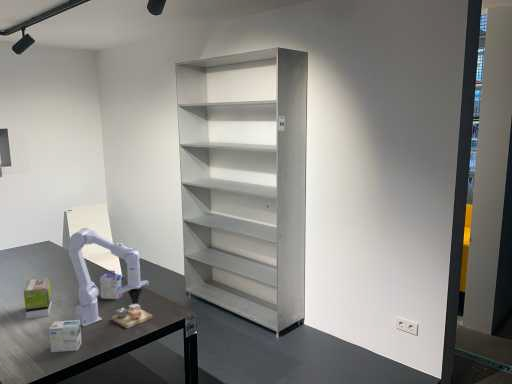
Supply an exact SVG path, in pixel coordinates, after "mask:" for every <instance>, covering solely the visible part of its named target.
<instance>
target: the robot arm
mask: <svg viewBox="0 0 512 384" xmlns="http://www.w3.org/2000/svg"><path fill="white" fill-rule="evenodd" d="M68 240H69V243H68V248H67V252H68V255H69V258H70V261H71V264H72V267H73V270H74V273H75V275H76V279H77V282H78V291H77V293H78V302H79V305H77V306H76V307H75V320H80V326H82V327H86V326H89V325H91V324H94V323H97V322H99V321H102V320H103V318H102V317H100V316H99V307H98V306H99V303H98V296H99V295H100V290H99V288H98V287H97V285H96V284H95V282H94V281H92V280H91V279H92V278H91V275H90V273H89V270H88V267H87V263H86V261H85V258H84V255H83V252H82V249H83V248H84V246H85V245H90V244H91V245H92V244H95V245H97V246H99V247H101V248H104V249H107V250H109V251H110V253H111V255H113V256H115V257H116V258H120V259H121V260H123V261H124V262H125V264H126V265H127V267H126V268H127V269H126V271H127V272H126V273H127V275H126V276H127V284H126V285H124V286H122V288H120V289H119V292H120V293H121V294H122V295H123V294H124V293H126V292H127V293H128V295H129V296H130V298H131V302H132V304H138V302H139V298H140V295H141V293H142V291H143V288H142V287H144V286H149V280H147V279H144V280H141V266H140V265H141V264H140V262H141V261H140V260H141V257H142V253H141V251H140V250H138V249H137V248H131V247H128V246H126V245H124V244H123V243H122V242H120V243H119V242H115V243H114V242H112V241H111V240H108V239H107V238H104V237H103V236H101V235H100V234H98V233H96V232H95V230H92V229H89V228H88V227H87V228H86V227H84V228H80V230H78V231H77V232H74V233H72V235H71V236H70V237H69V239H68Z"/></svg>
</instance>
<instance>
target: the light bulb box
mask: <svg viewBox="0 0 512 384" xmlns="http://www.w3.org/2000/svg"><path fill="white" fill-rule="evenodd" d="M48 329H49V341H50V342H49V343H50V352H51V353H59V352H73V351H78V350H79V349H80V347H81V345H82V332H81V331H82V327H81V325H80V320H76V319H73V320H63V321H62V320H60V321H56V320H55V321H53V323H52V324H51V325H50V327H49V328H48Z"/></svg>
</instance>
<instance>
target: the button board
mask: <svg viewBox="0 0 512 384" xmlns="http://www.w3.org/2000/svg"><path fill="white" fill-rule="evenodd" d="M127 310H128V315H126V316H124V317H121V318H120V317H119V316H117V315H116V314H115V315H113V316H111V320H112V321H113V322H115V323H117V324H119V325H120V326H122V327H124V328H125V329H129V328H131V327H134V326H137V325H139V324H141V323H143V322H146V321H149V320H151V319H153V314H151V313H149V312H147V311H145V310H144V309H141V310H140V311H141V314H142V316H141V317H138V318H135V319H133V318H132V317H130V316H129V312H130V311H129V309H127Z"/></svg>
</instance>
